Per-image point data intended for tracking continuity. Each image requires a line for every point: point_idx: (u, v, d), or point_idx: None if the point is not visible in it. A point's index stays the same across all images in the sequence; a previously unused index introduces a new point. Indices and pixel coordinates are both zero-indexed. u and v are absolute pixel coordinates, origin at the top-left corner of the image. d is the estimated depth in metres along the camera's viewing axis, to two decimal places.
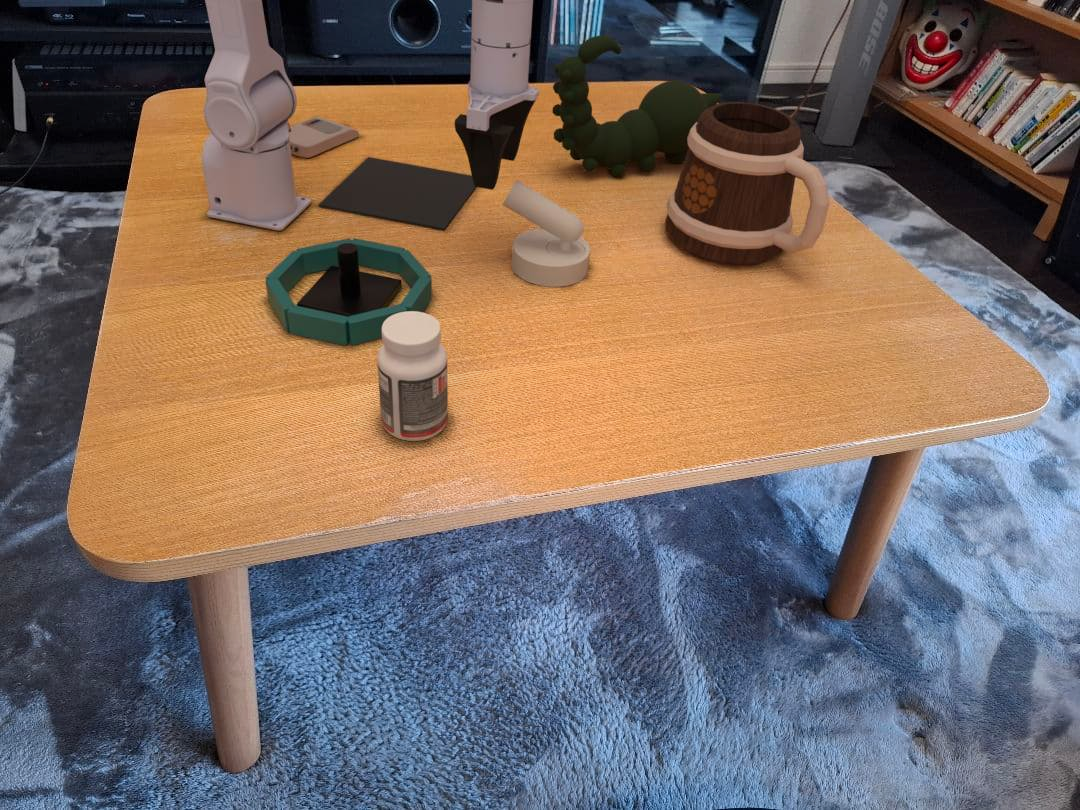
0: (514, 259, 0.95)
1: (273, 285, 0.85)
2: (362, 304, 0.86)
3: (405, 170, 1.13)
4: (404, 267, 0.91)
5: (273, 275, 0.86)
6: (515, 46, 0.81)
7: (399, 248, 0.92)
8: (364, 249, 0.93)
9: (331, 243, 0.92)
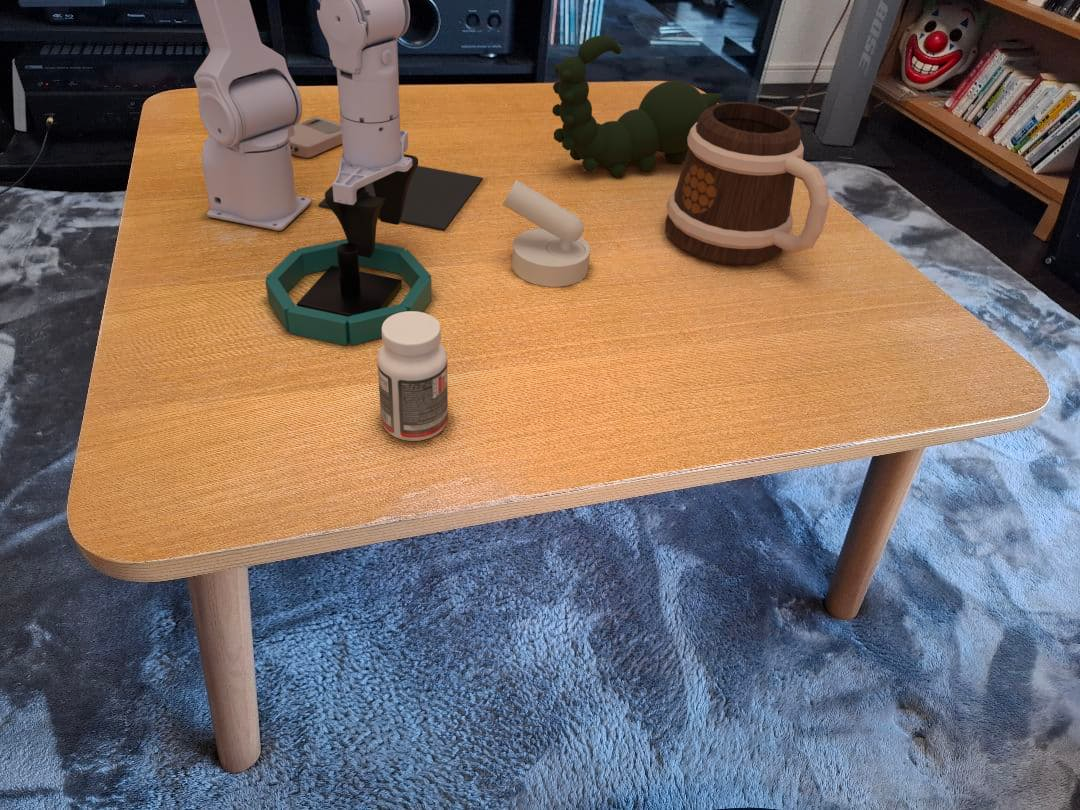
0: (514, 259, 0.95)
1: (273, 285, 0.85)
2: (362, 304, 0.86)
3: None
4: (404, 267, 0.91)
5: (273, 275, 0.86)
6: (381, 121, 0.81)
7: (399, 248, 0.92)
8: None
9: (331, 243, 0.92)
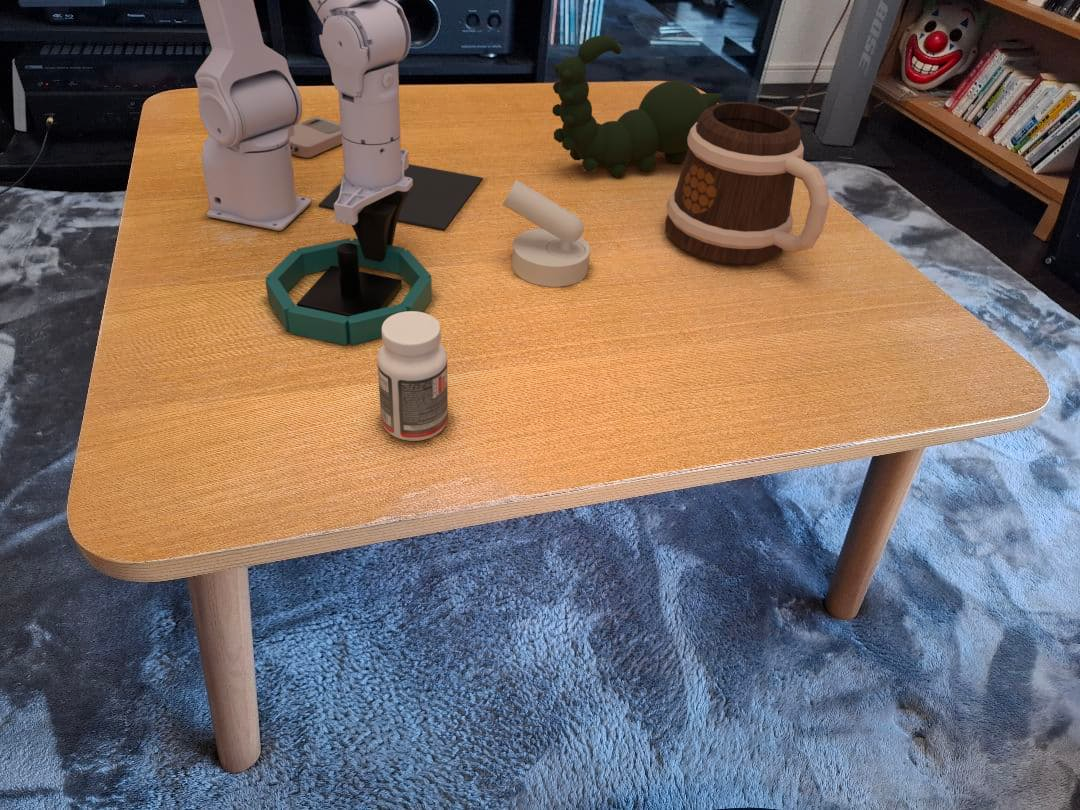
0: (514, 259, 0.95)
1: (273, 285, 0.85)
2: (362, 304, 0.86)
3: (405, 170, 1.13)
4: (404, 267, 0.91)
5: (273, 275, 0.86)
6: (382, 142, 0.83)
7: (399, 248, 0.92)
8: None
9: (331, 243, 0.92)
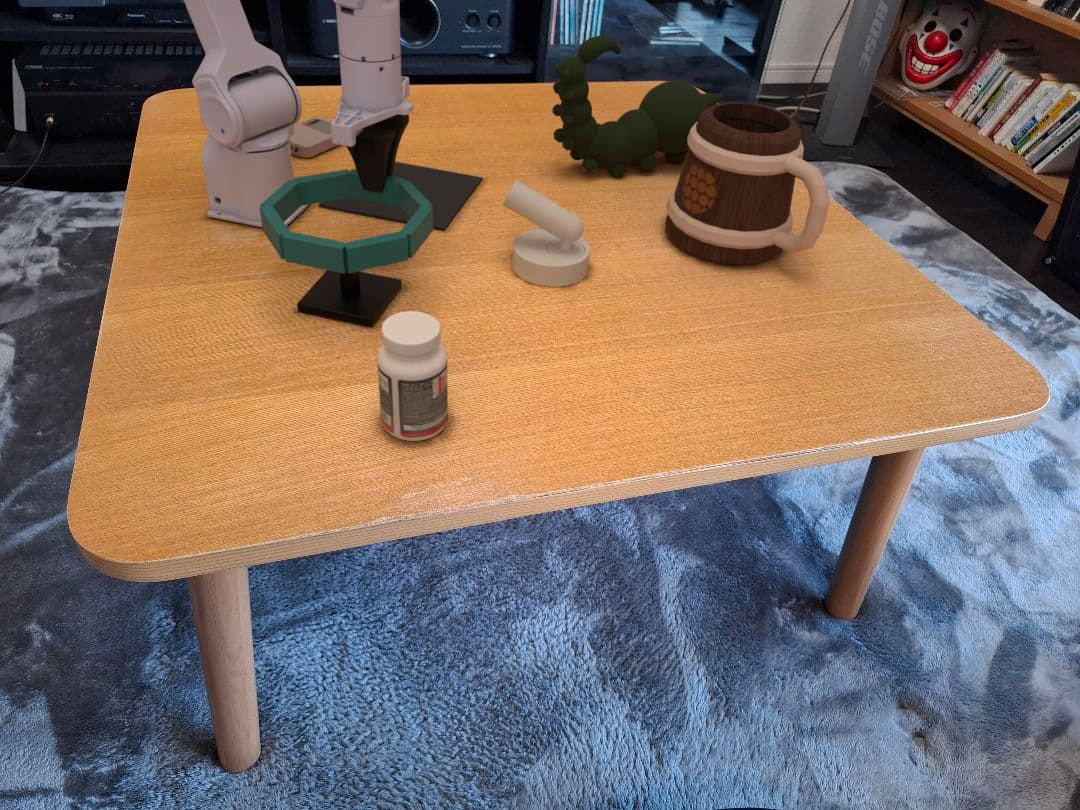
0: (514, 259, 0.95)
1: (267, 212, 0.81)
2: (362, 304, 0.86)
3: (405, 170, 1.13)
4: (404, 198, 0.88)
5: (267, 203, 0.83)
6: (381, 60, 0.79)
7: (399, 179, 0.89)
8: None
9: (329, 173, 0.89)
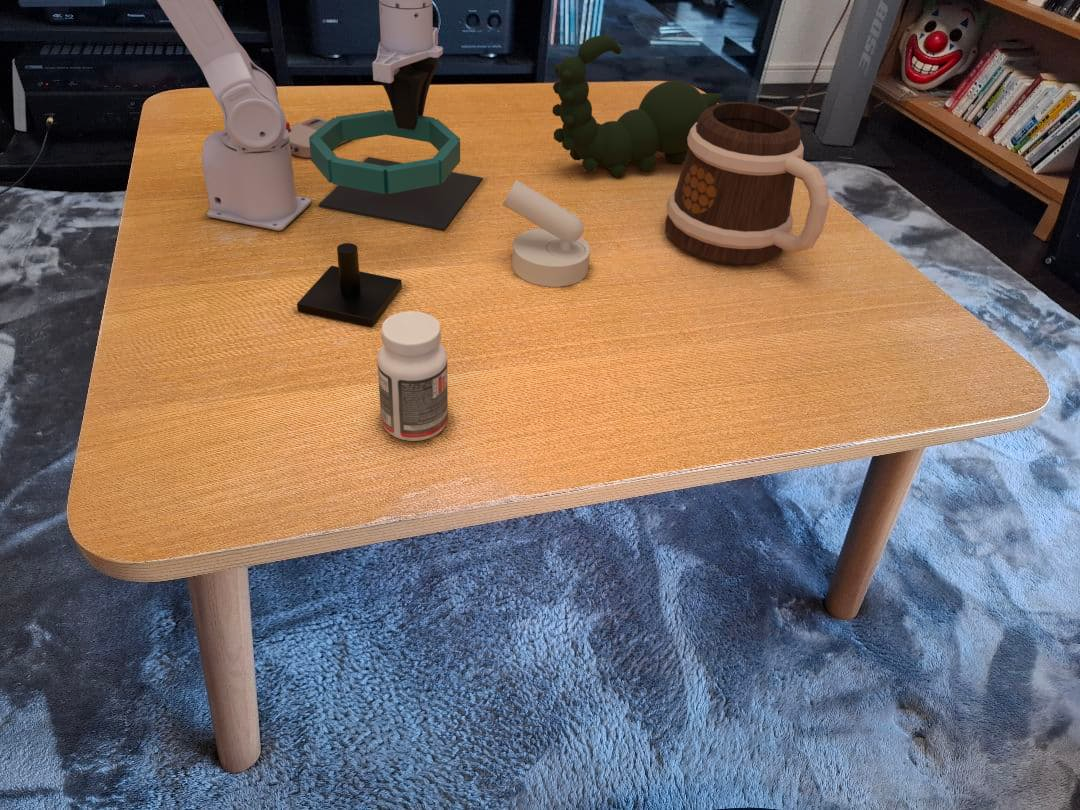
0: (514, 259, 0.95)
1: (316, 142, 0.93)
2: (362, 304, 0.86)
3: None
4: (434, 134, 0.99)
5: (316, 135, 0.94)
6: (416, 7, 0.91)
7: (430, 118, 1.00)
8: None
9: (367, 113, 1.00)
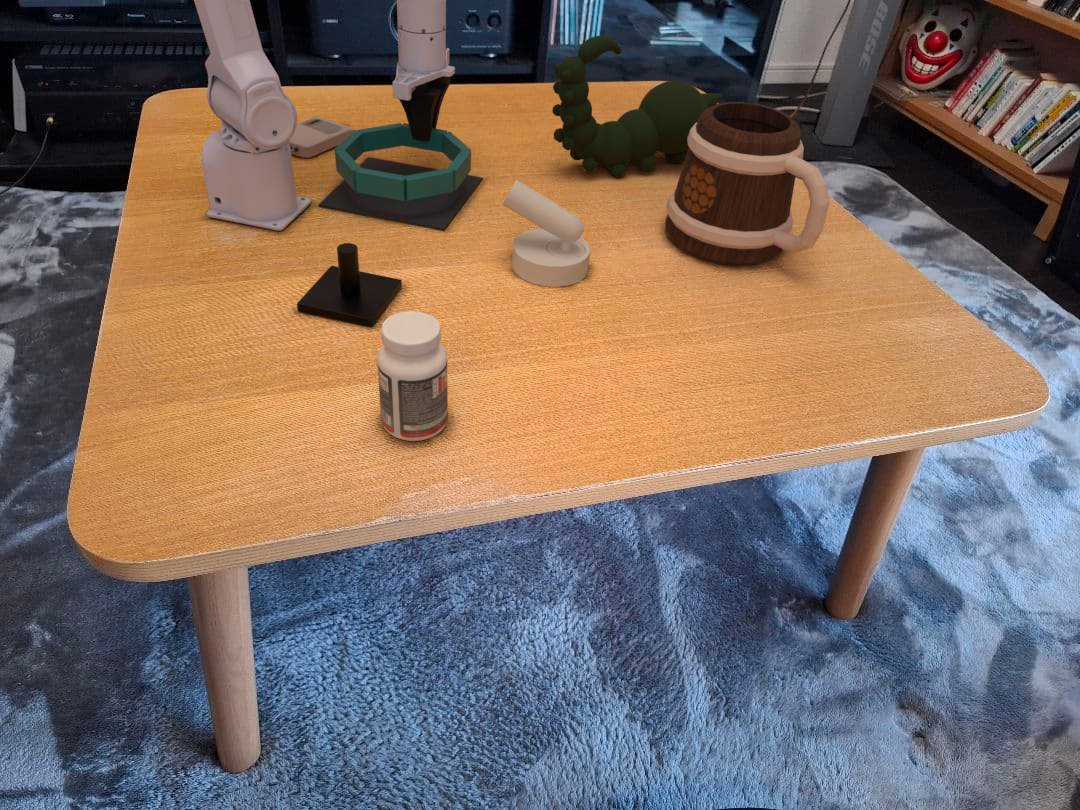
0: (514, 259, 0.95)
1: (341, 154, 1.03)
2: (362, 304, 0.86)
3: (405, 170, 1.13)
4: (447, 145, 1.09)
5: (340, 147, 1.04)
6: (432, 32, 1.00)
7: (442, 130, 1.10)
8: None
9: (386, 126, 1.10)
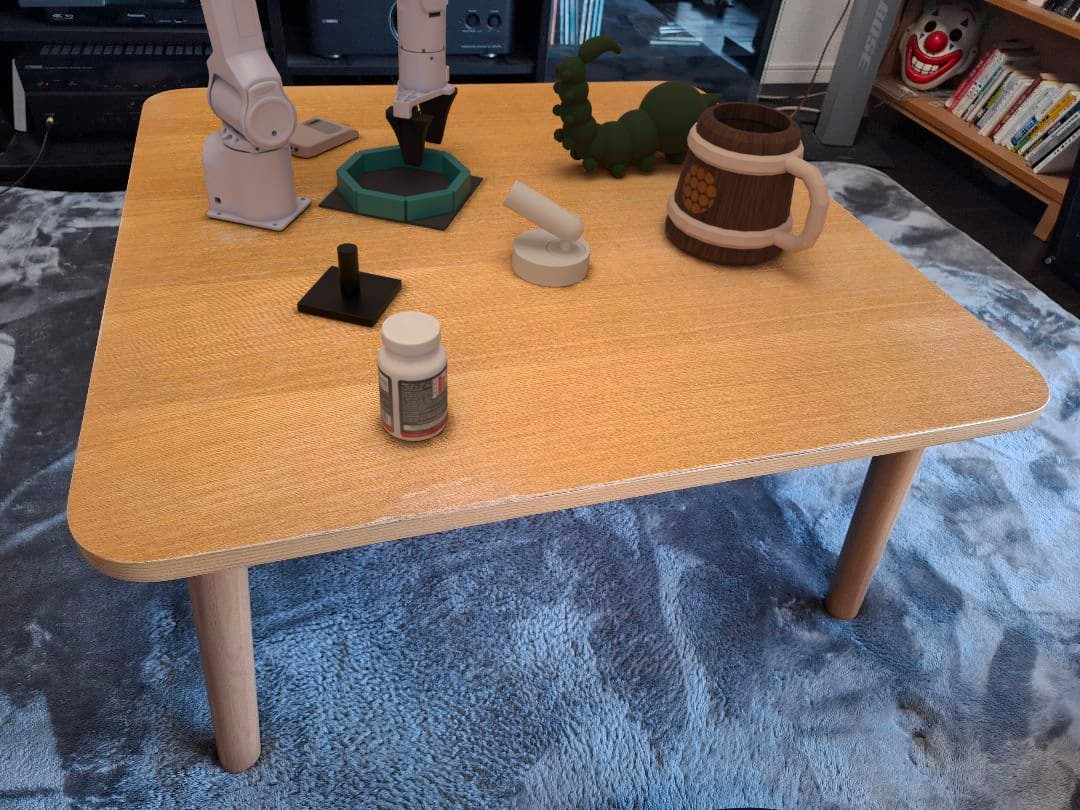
0: (514, 259, 0.95)
1: (343, 175, 1.04)
2: (362, 304, 0.86)
3: (405, 170, 1.13)
4: (447, 166, 1.11)
5: (342, 168, 1.06)
6: (432, 51, 1.02)
7: (442, 151, 1.12)
8: None
9: (386, 147, 1.12)
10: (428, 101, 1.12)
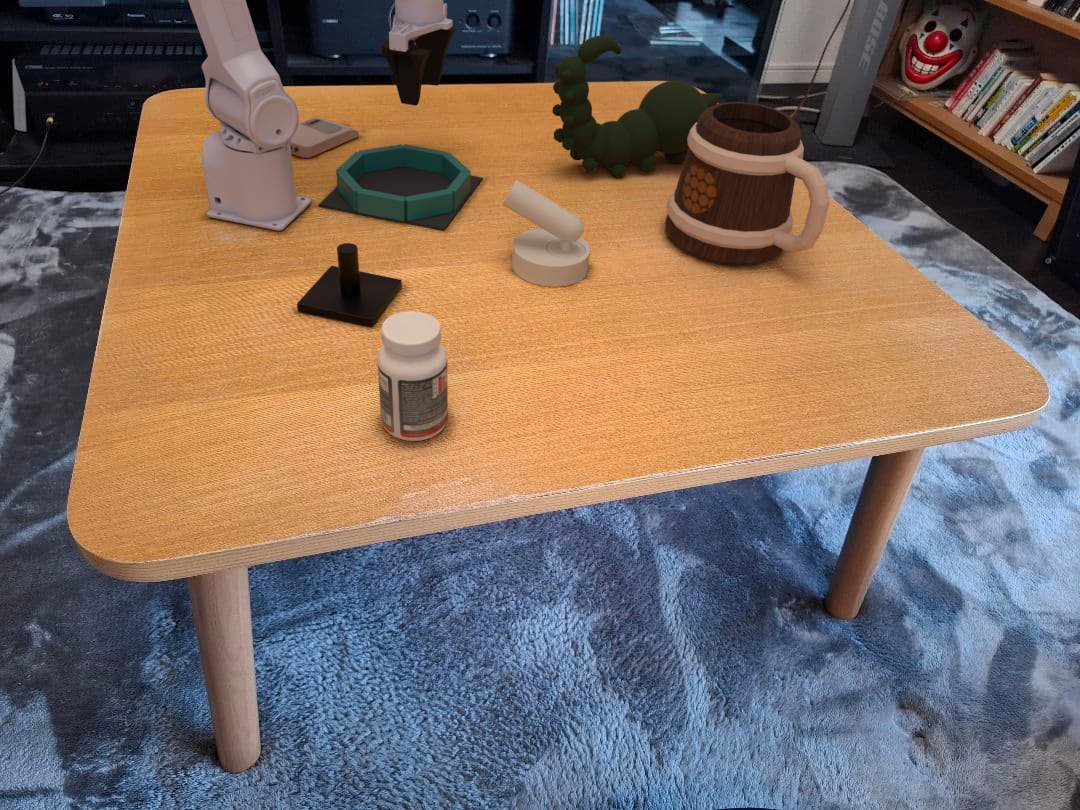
0: (514, 259, 0.95)
1: (343, 175, 1.04)
2: (362, 304, 0.86)
3: (405, 170, 1.13)
4: (447, 166, 1.11)
5: (342, 168, 1.06)
6: None
7: (442, 151, 1.12)
8: (414, 153, 1.12)
9: (386, 147, 1.12)
10: (425, 39, 1.09)
